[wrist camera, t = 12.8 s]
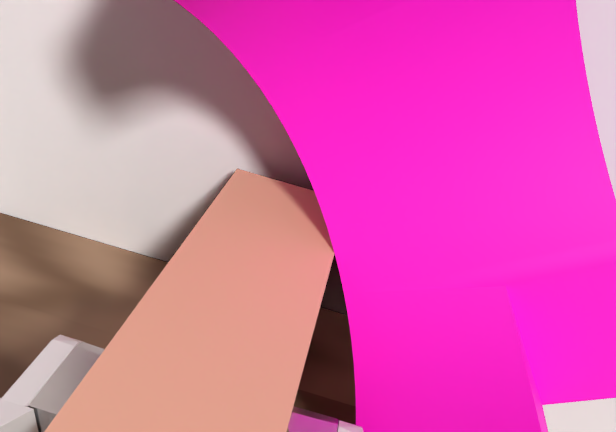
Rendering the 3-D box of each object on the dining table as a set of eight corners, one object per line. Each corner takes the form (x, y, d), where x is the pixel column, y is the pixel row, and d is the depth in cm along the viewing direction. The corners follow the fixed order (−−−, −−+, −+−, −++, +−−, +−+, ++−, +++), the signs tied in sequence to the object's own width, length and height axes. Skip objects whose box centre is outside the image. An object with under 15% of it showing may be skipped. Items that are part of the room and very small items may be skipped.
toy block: (599, 273, 16) (715, 526, 9) (405, 309, 18) (395, 530, 12) (478, -357, 9) (599, -894, 3) (196, -172, 11) (-77, -246, 5)
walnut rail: (8, 262, 20) (-189, 440, 14) (0, 213, 19) (-226, 385, 12) (487, 404, 20) (521, 665, 13) (515, 364, 18) (570, 635, 12)
